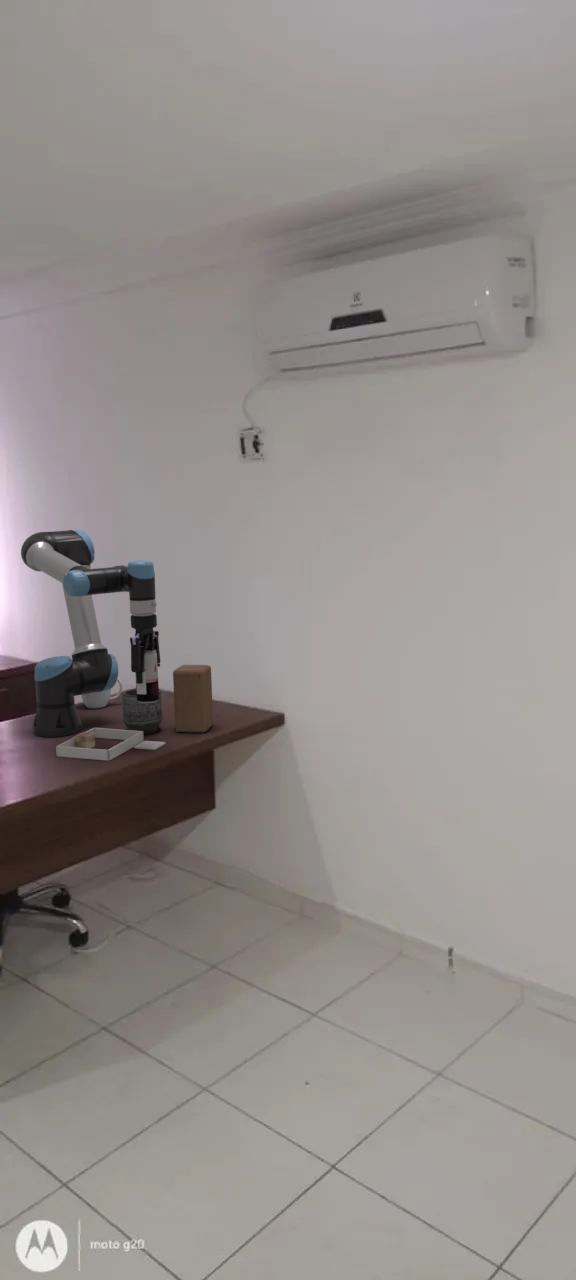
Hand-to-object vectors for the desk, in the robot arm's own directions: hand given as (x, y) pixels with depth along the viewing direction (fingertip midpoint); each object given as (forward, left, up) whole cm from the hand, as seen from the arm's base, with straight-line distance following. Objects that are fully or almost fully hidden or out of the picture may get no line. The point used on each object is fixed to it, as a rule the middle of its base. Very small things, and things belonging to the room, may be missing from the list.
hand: (147, 691), depth 274 cm
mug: (-41, +41, -17) cm, 61 cm away
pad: (0, 0, -17) cm, 17 cm away
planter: (-10, +15, -17) cm, 25 cm away
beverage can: (0, 0, -3) cm, 3 cm away
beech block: (-18, -6, -17) cm, 26 cm away
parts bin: (-13, -6, -17) cm, 22 cm away
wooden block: (+5, +21, -17) cm, 28 cm away
